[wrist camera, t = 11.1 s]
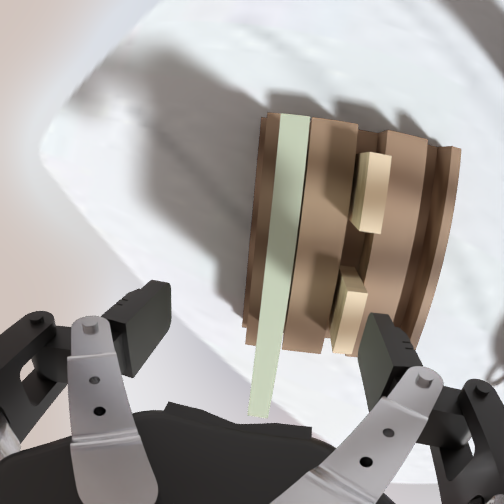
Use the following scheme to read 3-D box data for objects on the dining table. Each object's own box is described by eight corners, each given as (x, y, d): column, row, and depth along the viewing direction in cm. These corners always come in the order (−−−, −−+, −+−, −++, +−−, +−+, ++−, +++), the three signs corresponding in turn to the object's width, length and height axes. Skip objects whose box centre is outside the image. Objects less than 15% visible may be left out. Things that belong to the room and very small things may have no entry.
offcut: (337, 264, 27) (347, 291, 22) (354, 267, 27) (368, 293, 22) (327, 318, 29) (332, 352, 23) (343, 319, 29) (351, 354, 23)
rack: (263, 119, 26) (257, 111, 22) (446, 151, 24) (468, 151, 20) (244, 320, 32) (236, 342, 28) (406, 337, 30) (418, 360, 26)
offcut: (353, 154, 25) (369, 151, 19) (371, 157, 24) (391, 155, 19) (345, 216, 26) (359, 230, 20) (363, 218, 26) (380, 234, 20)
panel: (288, 139, 25) (280, 113, 12) (302, 141, 25) (310, 116, 12) (269, 310, 30) (247, 415, 16) (281, 312, 30) (267, 418, 16)
